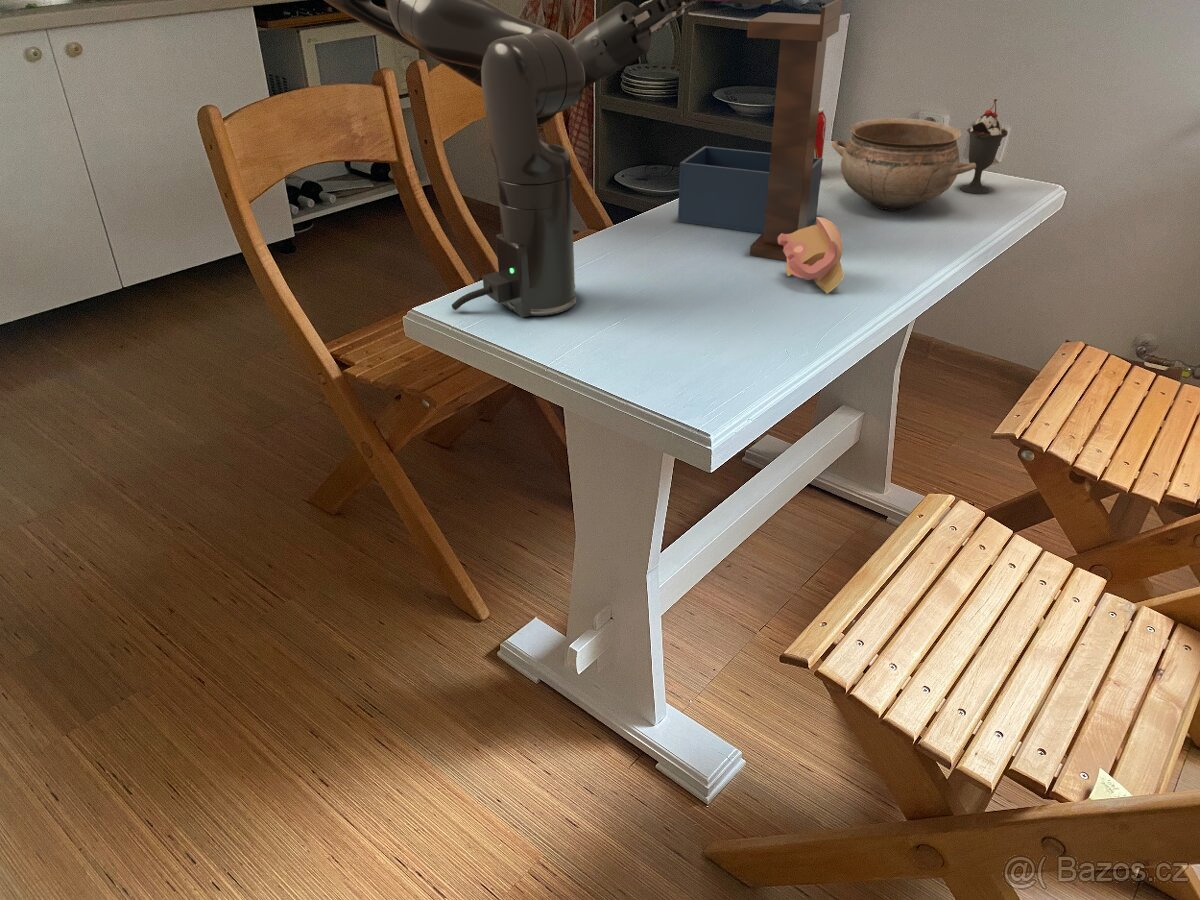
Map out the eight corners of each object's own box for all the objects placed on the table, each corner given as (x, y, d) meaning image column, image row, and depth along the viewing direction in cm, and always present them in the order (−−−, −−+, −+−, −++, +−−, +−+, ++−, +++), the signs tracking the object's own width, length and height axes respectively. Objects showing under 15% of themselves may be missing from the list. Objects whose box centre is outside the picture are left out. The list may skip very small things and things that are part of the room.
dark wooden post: (732, 254, 135) (749, 4, 116) (751, 235, 141) (769, -4, 123) (800, 264, 131) (829, 7, 112) (816, 244, 137) (846, -2, 119)
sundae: (985, 183, 162) (1004, 96, 154) (1000, 194, 156) (1021, 104, 148) (949, 184, 162) (966, 97, 154) (963, 195, 156) (981, 105, 148)
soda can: (820, 181, 165) (828, 113, 158) (781, 179, 166) (787, 112, 159) (820, 170, 171) (827, 104, 164) (782, 169, 172) (788, 103, 165)
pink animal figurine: (791, 266, 131) (845, 224, 127) (820, 319, 127) (877, 277, 122) (759, 247, 125) (814, 202, 120) (789, 302, 120) (847, 257, 115)
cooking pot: (800, 204, 154) (808, 131, 147) (852, 178, 166) (861, 109, 159) (940, 234, 140) (956, 155, 133) (986, 204, 152) (1002, 130, 145)
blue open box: (677, 221, 147) (679, 163, 142) (701, 202, 156) (704, 146, 150) (797, 238, 140) (804, 177, 134) (816, 217, 148) (823, 158, 143)
